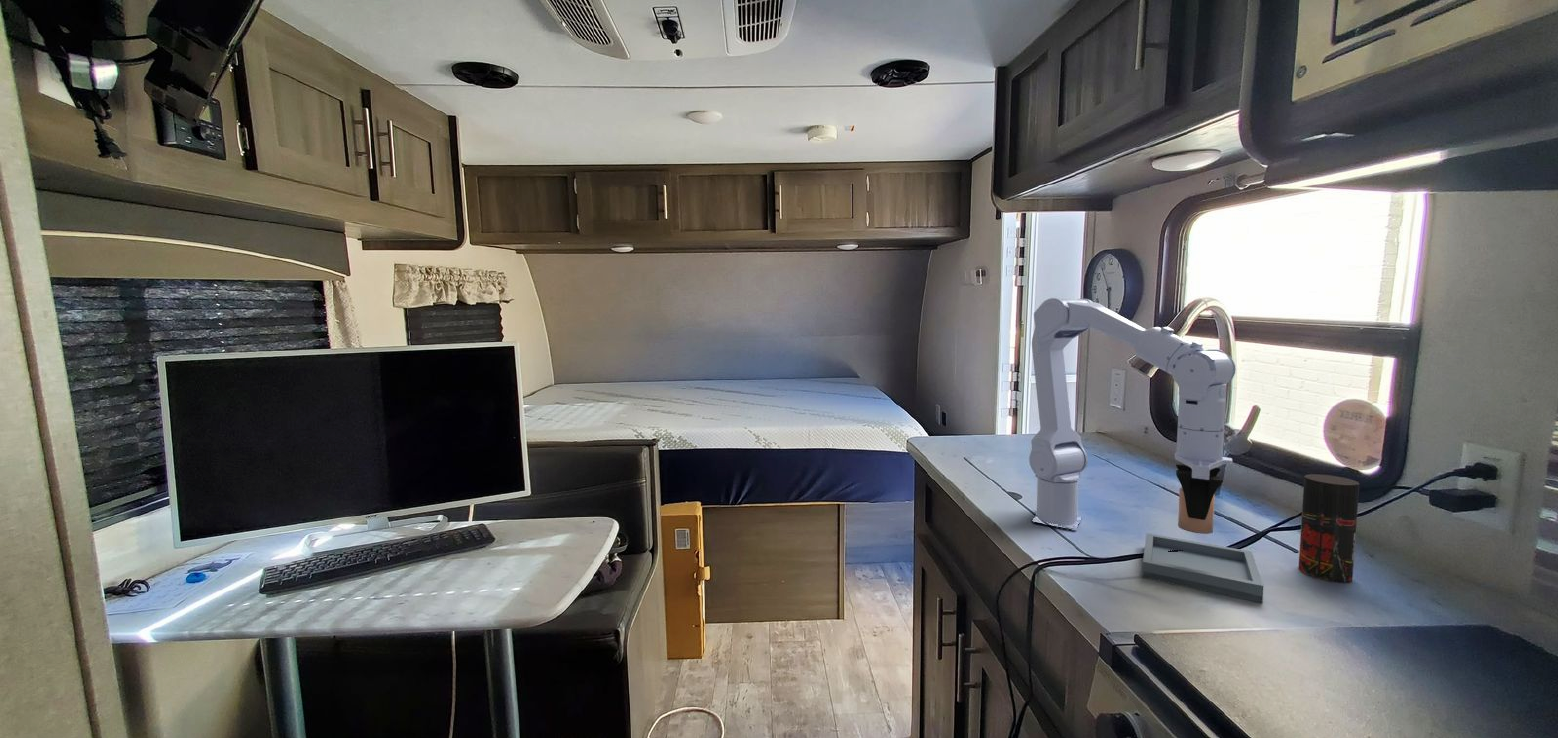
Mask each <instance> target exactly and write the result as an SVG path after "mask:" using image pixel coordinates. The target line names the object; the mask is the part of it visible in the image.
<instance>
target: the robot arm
mask: <svg viewBox="0 0 1558 738" xmlns="http://www.w3.org/2000/svg"><path fill="white" fill-rule="evenodd" d="M1033 319H1034V329H1033V335H1032V339H1031V350H1032V359H1033V370H1034V378H1035V379H1034V380H1035V388H1036V398H1037V409H1038V416H1039V417H1038V418H1039V426H1040V427H1039V428H1040V429H1039V431H1038V432H1037V433H1036V434H1035V435H1034V436H1033V438H1032V439H1031V449H1030V454H1029V457H1028V458H1029V459H1028V460H1029V467H1030V468H1031V471H1032V472H1033V473H1034V474H1035V478H1037V479H1036V480H1037V483H1036V485H1037V486H1036V489H1037V490H1036V512H1037V517H1038V518H1039V519H1040V520H1043V521H1045V522H1048V523H1051V524H1052V523H1053V524H1058V526H1061V525H1062V527H1065V528H1071V529H1077V530H1078V528H1079V526H1078V524H1079V523H1078V522H1077V520H1081V521H1082V519H1081V517H1077V514H1078V505H1079V503H1078V499H1079V479H1080V478H1081V473H1082V472H1083V471H1085V469H1086V468H1087V467H1088V466H1087V465H1088V462H1089V461H1088V455H1087V452H1086V449H1084V446H1083V443H1082V437H1081V435H1079V433H1077V432H1076V431H1075V430H1074V429H1073V428H1072V420H1071V411H1070V401H1069V392H1068V384H1067V383H1068V382H1067V374H1066V365H1065V357H1064V356H1065V355H1064V349H1065V347H1067V346H1068V344H1069V343H1070V342H1072V340H1074V339H1075V338H1076V337H1078V336H1080V335H1082V334H1084V333H1085V332H1087V331H1089V330H1090V329H1091V328H1092V329H1095V330H1097V331H1098V332H1099V331H1100V333H1101V332H1102V333H1103V334H1106V335H1108V336H1110V337H1112V338H1114V339H1116V340H1119V341H1121V342H1123V343H1125V344H1128V345H1129V346H1132V348H1133V351H1134V355H1135V356H1136V357H1137V358H1139V359H1141V360H1142V361H1144V362H1146V363H1148V364H1150V365H1152V366H1154V367H1156V368H1157V369H1160V370H1161V371H1164V372H1165V373H1167V374H1169V375H1171V376H1172V379H1173V380H1174V382H1175V383H1176V385H1177V387H1178V416H1177V432H1176V433H1177V434H1176V435H1177V436H1176V452H1175V453H1174V459H1175V460H1176V461H1178V462H1175V466H1176V468H1177V470H1175V473H1176V478H1177V479H1178V481H1179V483H1180V485H1181V486H1182V488H1183V492H1184V496H1185V503H1186V510H1187V514H1188V517H1189V518H1195V519H1201V520H1205V519H1206V517H1207V514H1208V511H1209V508H1210V504H1211V501H1212V498H1213V496H1214V494H1215V495H1216V491H1217V490H1218V489H1219V488H1220V487H1221V485H1222V483H1224V478H1223V476H1222V477H1221V476H1218V474H1219V473H1220V472H1221V467H1220V466H1223V465H1228V466H1229V465H1231V466H1232V465H1233V458H1232V457H1226V456H1225V457H1224V441H1225V438H1224V437H1225V426H1226V425H1225V423H1226V421H1225V420H1226V419H1225V418H1226V407H1227V405H1226V404H1227V403H1226V402H1227V400H1226V398H1227V384H1228V383H1230V382H1231V381H1233V379H1234V377H1235V374H1236V364H1235V362H1234V360H1233V358H1232V357H1231V356H1230V355H1228V354H1226V353H1225V352H1224V351H1223V350H1221V349H1217V348H1216V349H1214V348H1213V349H1206V350H1204V348H1203V346H1204V345H1203V343H1201V342H1199V341H1193V342H1191V341H1189V340H1187V339H1185V338H1183V337H1180V336H1178V335H1177V334H1174V332H1175V329H1173V328H1171V327H1170V326H1162V327H1159V326H1154V327H1149V328H1148V329H1146V328H1144V327H1143V326H1140V325H1138V324H1137V323H1135V322H1134V321H1131V320H1129V319H1127V318H1125V317H1124V316H1121V315H1120V314H1118V313H1116V312H1115V311H1113V310H1111V309H1109V308H1107V307H1105V306H1104V305H1103V304H1101V303H1099V302H1095V301H1094V302H1093V301H1092V300H1091V299H1088V298H1078V299H1075V298H1073V299H1072V298H1057V297H1056V298H1055V297H1054V298H1053V297H1050V298H1047V299H1045V300H1044V301H1043V302H1041V304H1040V305H1039V306H1038V308H1037V309H1036V310H1035V311H1034V312H1033ZM1181 486H1180V487H1181ZM1079 525H1080V524H1079ZM1077 527H1078V528H1077Z"/></svg>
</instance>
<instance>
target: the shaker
mask: <svg viewBox="0 0 1558 738" xmlns="http://www.w3.org/2000/svg"><path fill="white" fill-rule="evenodd" d="M1178 492H1179V496H1178V498H1179V499H1178V518H1177V527H1178V528H1179V529H1181V530H1184V531H1186V532H1190V533H1194V534H1203V535H1208V534H1213V532H1214V521H1215V520H1214V519H1215V501H1216V499H1215V498H1216V493H1215V494H1214V496H1213V498H1212V501H1211V504H1210V508H1209V511H1208V514H1207V517H1206V519H1205V520H1201V519H1195V518H1189V517H1188V514H1187V510H1186V503H1185V496H1184V492H1183V488H1182V486H1180V488H1179V491H1178Z"/></svg>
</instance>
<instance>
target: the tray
mask: <svg viewBox="0 0 1558 738" xmlns="http://www.w3.org/2000/svg"><path fill="white" fill-rule="evenodd" d="M1170 550H1171V551H1172V550H1183V551H1178V552H1168V551H1170ZM1142 578H1144V579H1149V580H1153V581H1158V582H1162V583H1167V584H1171V585H1177V586H1181V587H1185V588H1190V589H1195V590H1199V591H1205V592H1208V593H1214V594H1219V595H1223V596H1227V597H1230V598H1231V597H1232V598H1237V599H1241V600H1246V601H1251V602H1255V603H1260V604H1263V600H1264V584H1263V581H1262V578H1261V575H1260V572H1259V568H1258V566H1257V563H1256V561H1255V558H1254V554H1253V551H1250V550H1244V549H1240V548H1239V549H1238V548H1234V547H1233V548H1232V547H1229V546H1228V547H1227V546H1221V545H1216V544H1210V543H1204V542H1199V541H1193V540H1189V539H1188V540H1187V539H1182V538H1177V537H1170V536H1165V535H1158V534H1155V533H1147V532H1146V536H1145V543H1144V551H1143V557H1142Z"/></svg>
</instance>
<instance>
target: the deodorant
mask: <svg viewBox="0 0 1558 738" xmlns="http://www.w3.org/2000/svg"><path fill="white" fill-rule="evenodd" d="M1302 490H1303V491H1302V492H1303V493H1302V504H1301V505H1302V506H1301V507H1302V508H1301V524H1300V534H1299V535H1300V537H1299V538H1300V540H1299V551H1298V552H1299V553H1298V567H1297V568H1298V570H1299V572H1300V573H1303V574H1304V575H1307V576H1308V577H1312V578H1315V579H1318V580H1321V581H1325V582H1326V581H1327V582H1330V583H1337V584H1347V583H1352V582H1353V580H1354V579H1353V575H1354V564H1355V563H1354V562H1355V553H1356V552H1355V549H1356V535H1357V523H1358V522H1357V521H1358V509H1359V496H1360V495H1359V493H1360V482H1358V481H1356V480H1353V479H1351V478H1346V477H1343V476H1341V477H1340V476H1335V475H1331V474H1330V475H1329V474H1316V473H1315V474H1314V473H1313V474H1312V473H1311V474H1310V473H1309V474H1305V475H1304V476H1303V489H1302Z"/></svg>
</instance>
